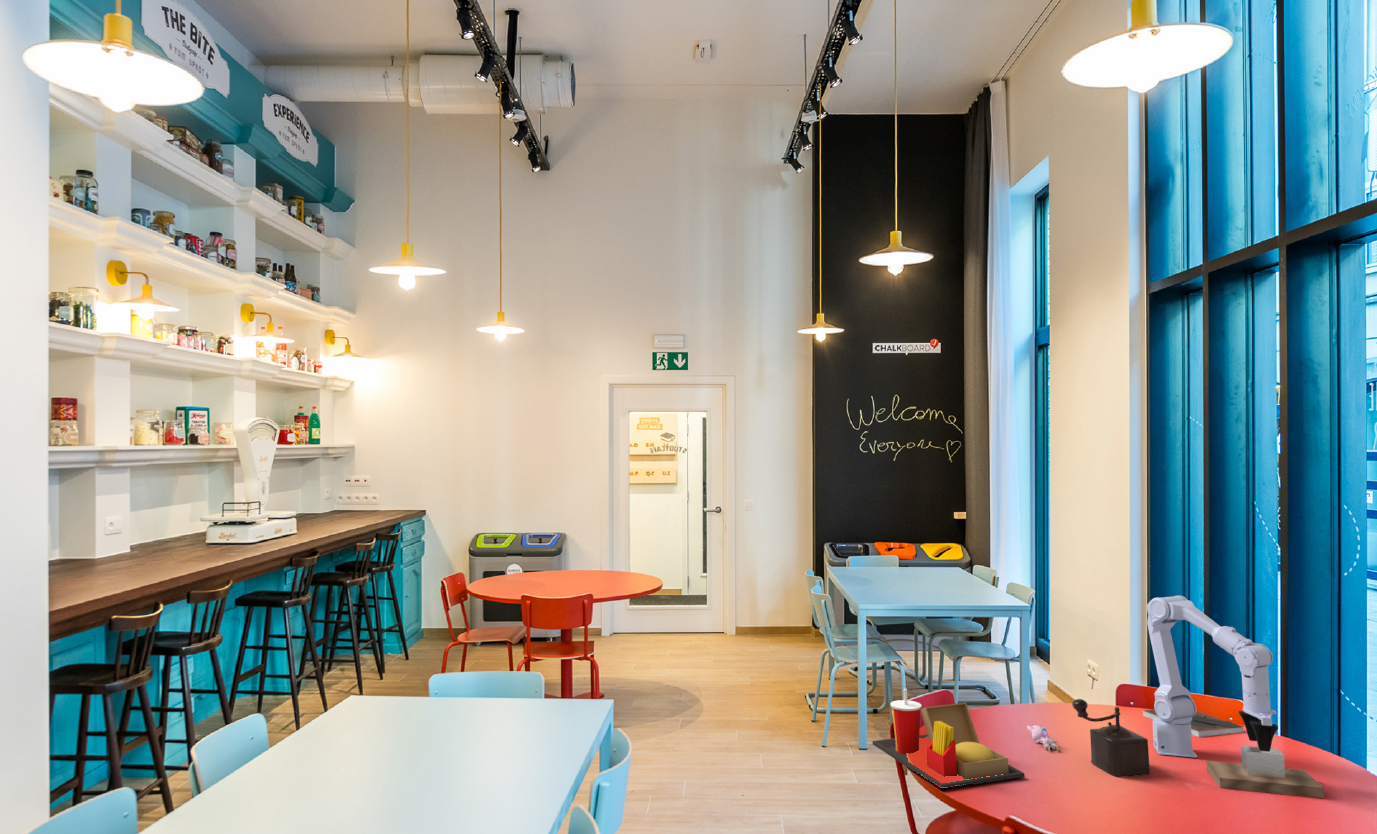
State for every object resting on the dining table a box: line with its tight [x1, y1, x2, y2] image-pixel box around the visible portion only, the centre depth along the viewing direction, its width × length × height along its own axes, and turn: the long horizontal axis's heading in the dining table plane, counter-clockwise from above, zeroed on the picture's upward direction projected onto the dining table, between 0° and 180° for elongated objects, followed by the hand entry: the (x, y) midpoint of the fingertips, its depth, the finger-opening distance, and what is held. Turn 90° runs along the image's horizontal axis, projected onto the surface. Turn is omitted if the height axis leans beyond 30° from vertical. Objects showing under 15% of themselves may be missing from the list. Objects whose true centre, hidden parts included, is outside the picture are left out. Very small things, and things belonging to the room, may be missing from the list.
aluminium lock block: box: [1240, 745, 1286, 779], centre depth 203 cm, size 8×4×6 cm, turn 70°
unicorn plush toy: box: [1026, 724, 1060, 752], centre depth 234 cm, size 6×6×15 cm
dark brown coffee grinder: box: [1071, 698, 1151, 778], centre depth 215 cm, size 16×11×18 cm
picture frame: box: [1142, 708, 1244, 738], centre depth 250 cm, size 16×2×22 cm
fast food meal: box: [872, 688, 1026, 787], centre depth 222 cm, size 26×35×18 cm
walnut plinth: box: [1206, 760, 1326, 799], centre depth 202 cm, size 22×12×2 cm, turn 70°
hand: (1259, 745), depth 203 cm, fingers open, 7 cm apart
